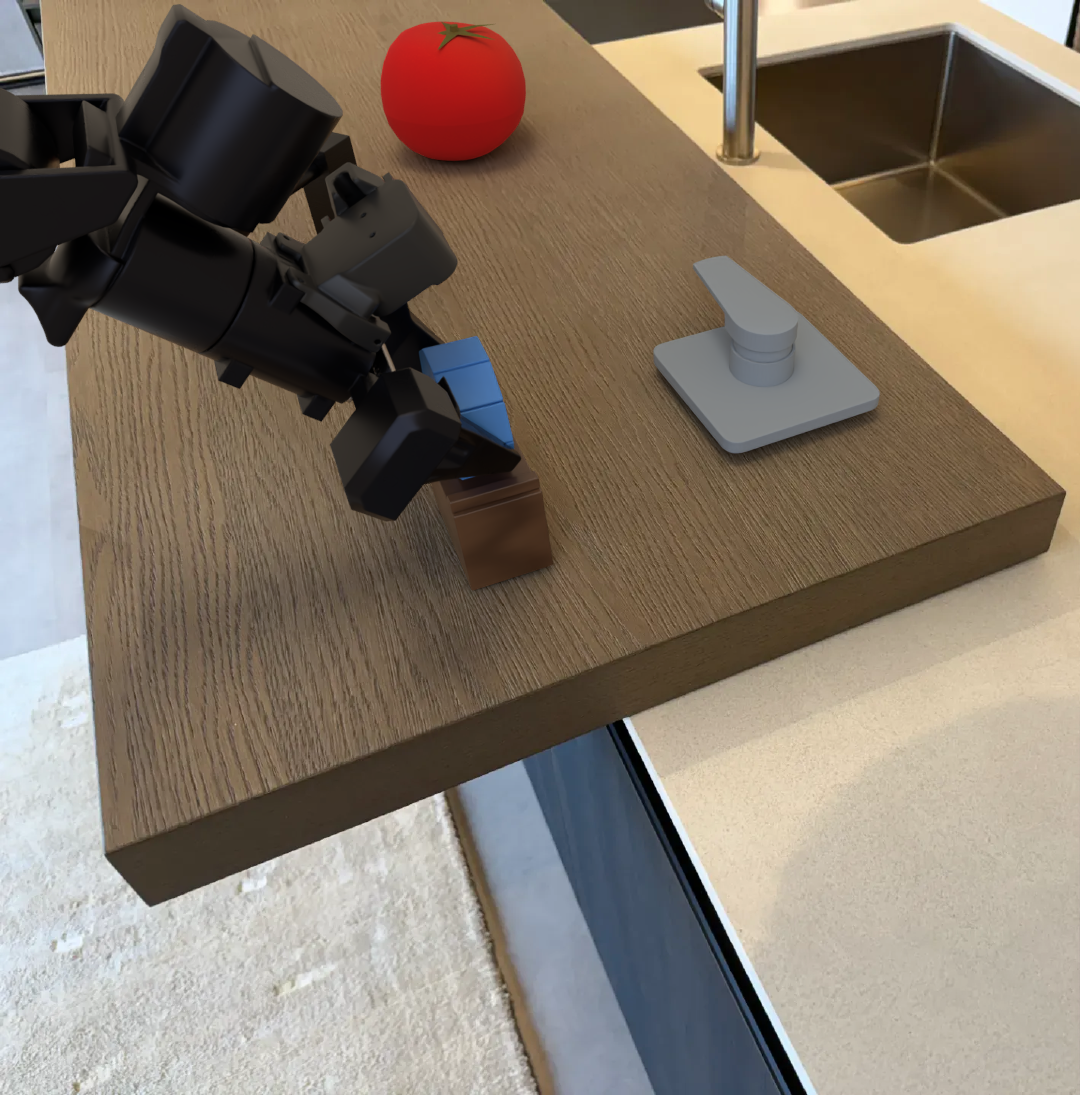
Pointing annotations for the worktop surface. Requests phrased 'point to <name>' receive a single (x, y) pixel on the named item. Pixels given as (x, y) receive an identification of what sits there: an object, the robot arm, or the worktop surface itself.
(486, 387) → the tape roll
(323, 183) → the hook stand
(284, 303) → the robot arm
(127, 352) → the worktop surface
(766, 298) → the shower valve
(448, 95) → the tomato
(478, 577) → the tape cradle
